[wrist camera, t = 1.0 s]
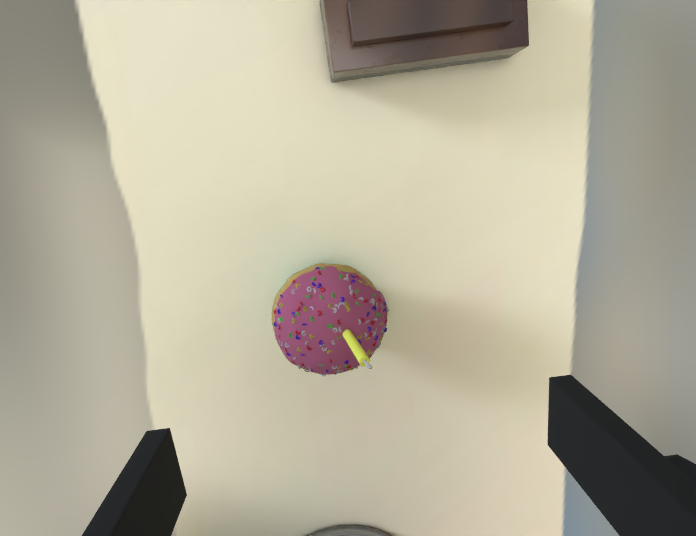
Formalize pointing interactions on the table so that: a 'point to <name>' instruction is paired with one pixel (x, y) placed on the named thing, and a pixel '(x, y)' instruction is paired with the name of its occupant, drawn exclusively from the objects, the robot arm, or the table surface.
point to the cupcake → (329, 319)
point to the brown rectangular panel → (419, 34)
